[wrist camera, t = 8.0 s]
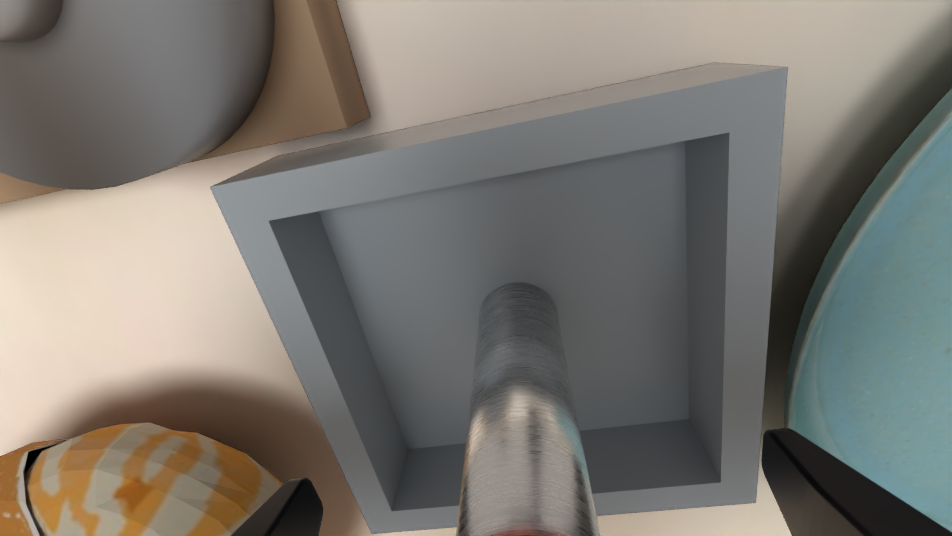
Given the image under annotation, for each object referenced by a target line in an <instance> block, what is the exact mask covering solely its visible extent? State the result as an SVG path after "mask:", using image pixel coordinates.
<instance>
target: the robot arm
mask: <svg viewBox="0 0 952 536" xmlns="http://www.w3.org/2000/svg"><path fill="white" fill-rule="evenodd" d="M762 468H763V471H764V474H765V477H766V479H767V481H768V484H769V486H770V488H771V490H772V492H773V495H774V497H775V499H776V501H777V503H778V506H779V508H780V510H781V512H782V515H783V517H784V519H785V521H786V523H787V526H788V528H789V530H790V532H791V534H792V536H952V532H951V531H949V530H948V529H946V528H945V527H943V526H942V525H940V524H939V523H937V522H935V521H934V520H932V519H931V518H929V517H928V516H926V515H925V514H923V513H921V512H920V511H918V510H917V509H915V508H914V507H912V506H911V505H909V504H907V503H906V502H904V501H903V500H901V499H900V498H898V497H897V496H895V495H894V494H892V493H890V492H889V491H887V490H886V489H884V488H883V487H881V486H880V485H878V484H876V483H875V482H873V481H872V480H870V479H869V478H867V477H866V476H864V475H863V474H861V473H859V472H858V471H856V470H855V469H853V468H852V467H850V466H849V465H847V464H845V463H844V462H842V461H841V460H839V459H838V458H836V457H835V456H833V455H832V454H830V453H828V452H827V451H825V450H824V449H822V448H821V447H819V446H818V445H816V444H814V443H813V442H811V441H810V440H808V439H807V438H805V437H804V436H802V435H800V434H799V433H797V432H796V431H794V430H792V429H789V428H782V429H772V430H767V431H766V432H765V433H764V436H763V449H762ZM322 515H323V506H322V502H321V500H320V498H319V496H318V494H317V492H316V490H315V488H314V486H313V484H312V482H311V481H310V480H309V479H308V478H296V479H290V480H288V481H286V482H285V483H284V484H283V485H282V486H281V487H280V488H279V489H278V490H277V491H276V492H275V493H274V494H273V495H272V496H271V497H270V498H269V499H267V500H266V501H265V502H264V503H263V504H262V505H261V506H260V507H259V508H258V509H257V510H256V511H255V512H254V513H253V514H252V515H251V516H250V517H249V518H248V519H247V520H246V521H245V522H244V523H243V524H242V525H241V526H240V527H239V528H238V529H237V530H235V531H234V532H233V533H232V534H231V535H230V536H318V535H319V530H320V525H321V521H322Z"/></svg>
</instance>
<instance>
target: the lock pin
mask: <svg viewBox="0 0 952 536" xmlns="http://www.w3.org/2000/svg"><path fill="white" fill-rule="evenodd" d="M456 536H600V533H599V528H598V523H597V518H596V513H595V507H594V502H593V497H592V492H591V486H590V481H589V476H588V471H587V466H586V460H585V455H584V450H583V445H582V439H581V434H580V429H579V424H578V419H577V413H576V408H575V403H574V398H573V392H572V387H571V382H570V377H569V372H568V366H567V361H566V356H565V351H564V345H563V340H562V335H561V330H560V325H559V319H558V314H557V309H556V306H555V303H554V301H553V300H552V298H551V297H550V296H549V295H548V294H547V293H546V292H545V291H544V290H542V289H541V288H539V287H537V286H535V285H532V284H528V283H522V282H515V283H508V284H505V285H502V286H500V287H497V288H496V289H494V290H493V291H491V292H490V293H489V294H488V295H487V296H486V298H485V299H484V301H483V302H482V304H481V307H480V312H479V321H478V331H477V340H476V350H475V360H474V369H473V379H472V388H471V398H470V408H469V417H468V427H467V437H466V446H465V456H464V465H463V475H462V485H461V494H460V504H459V514H458V523H457V533H456Z"/></svg>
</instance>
